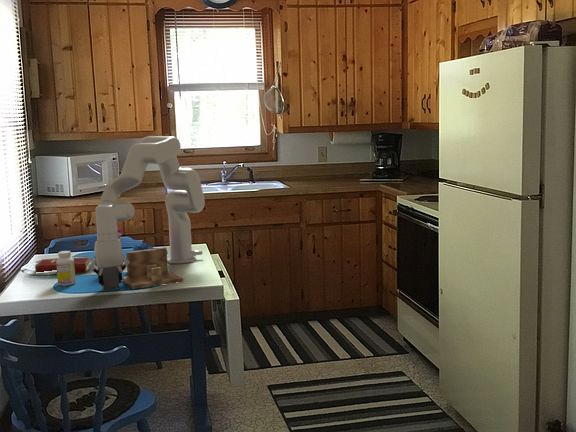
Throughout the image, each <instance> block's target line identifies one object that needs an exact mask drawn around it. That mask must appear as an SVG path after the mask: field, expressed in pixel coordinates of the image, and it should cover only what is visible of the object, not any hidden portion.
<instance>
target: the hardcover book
mask: <svg viewBox="0 0 576 432" xmlns="http://www.w3.org/2000/svg"><path fill="white" fill-rule="evenodd" d="M72 258H73V259H74V267H75V273H81V272H84V273H85V272H88V269H90V268H89V267H88V266H89V263H90V262H92V261H91V260H92V257H90V256H89V257H72ZM57 259H58V258H44V259H41V260H39V261H38V262H37V263H36V264H35V266H34V268H35V269H34V271H35V273H36V272H44V271H52V270H57V265H56V261H57Z"/></svg>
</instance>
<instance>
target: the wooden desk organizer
mask: <svg viewBox="0 0 576 432" xmlns="http://www.w3.org/2000/svg"><path fill="white" fill-rule="evenodd" d="M131 251H132V252H131ZM131 251H126V252H125V254H126V255H125V258H126V259H127V260H128V261H130V263H129V264H128V265H127V266H126V271H127V272H126V274H127V276H122V280H123V281H124V284H126V285H127V284H128V285H129V286H128V285H127V286H128V287H130V288H131V290H137V289H136V288H139V289H144V288H143V287H146V288H150V287H149V286H152V287H155V286H154V285H159V286H162V285H161V284H166V285H170V283H172V284H177V283H176V282H179V283H184V278H183V277H182V276H180V275H179V274H177V273H175V272H174V271H172V270H169V266H168V262H167V259H168V249H167V247H158V248H157V247H156V248H153V249H148V250H140V251H133V250H131ZM122 280H121V281H122ZM123 281H122V282H123Z"/></svg>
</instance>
